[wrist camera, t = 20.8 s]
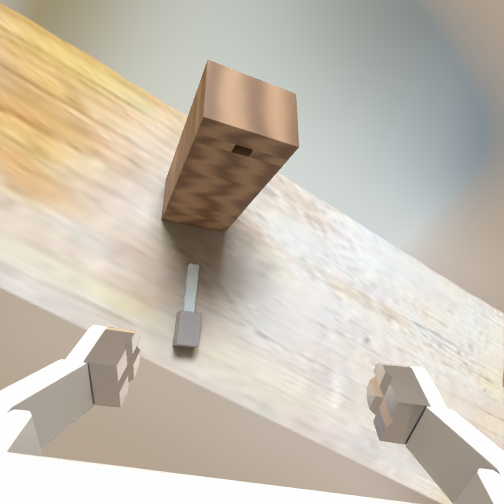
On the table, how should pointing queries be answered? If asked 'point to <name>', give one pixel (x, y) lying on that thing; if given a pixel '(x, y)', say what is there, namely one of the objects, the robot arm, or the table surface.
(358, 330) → the table surface
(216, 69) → the post
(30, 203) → the table surface
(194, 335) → the grey stepped bar
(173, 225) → the table surface
